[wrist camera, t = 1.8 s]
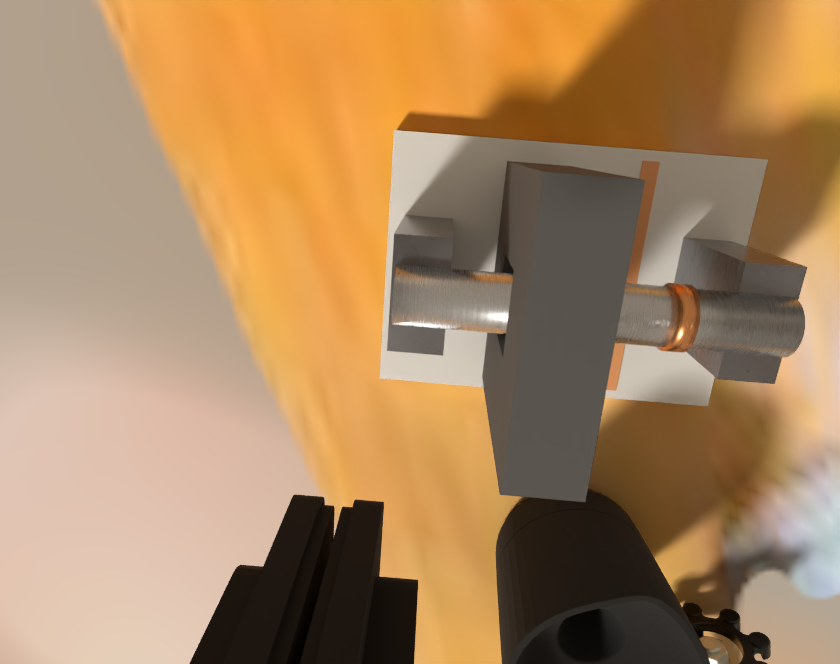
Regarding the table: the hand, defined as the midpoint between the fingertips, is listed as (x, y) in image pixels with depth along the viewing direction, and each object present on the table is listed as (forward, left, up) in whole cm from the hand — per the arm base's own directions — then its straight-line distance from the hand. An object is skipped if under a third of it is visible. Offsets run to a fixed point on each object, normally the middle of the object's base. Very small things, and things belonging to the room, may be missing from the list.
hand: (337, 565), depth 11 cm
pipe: (-8, -1, -21) cm, 23 cm away
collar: (-6, -2, -20) cm, 21 cm away
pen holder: (-11, +16, -22) cm, 29 cm away
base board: (-8, -1, -22) cm, 23 cm away
